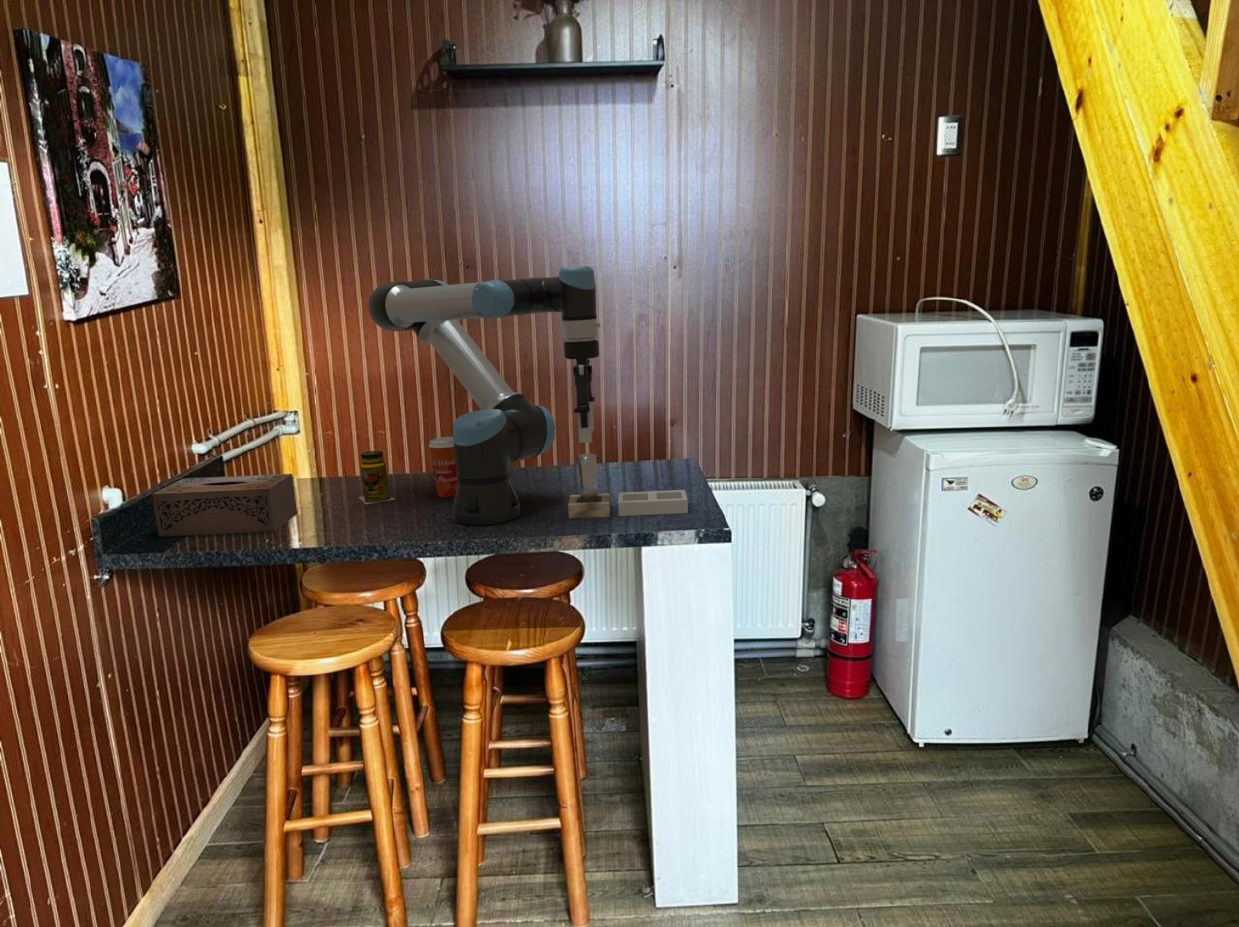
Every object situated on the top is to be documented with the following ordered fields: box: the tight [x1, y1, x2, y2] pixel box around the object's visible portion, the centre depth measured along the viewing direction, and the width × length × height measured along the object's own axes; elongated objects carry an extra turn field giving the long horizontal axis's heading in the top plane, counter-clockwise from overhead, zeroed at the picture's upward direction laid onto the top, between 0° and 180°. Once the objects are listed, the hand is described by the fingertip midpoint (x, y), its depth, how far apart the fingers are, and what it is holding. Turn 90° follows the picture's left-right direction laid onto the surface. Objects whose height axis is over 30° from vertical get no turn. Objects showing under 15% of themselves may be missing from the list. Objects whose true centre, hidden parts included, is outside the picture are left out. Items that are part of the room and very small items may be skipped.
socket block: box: [567, 492, 611, 519], centre depth 203 cm, size 9×9×3 cm
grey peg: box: [577, 453, 599, 503], centre depth 202 cm, size 4×4×13 cm
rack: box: [617, 489, 689, 517], centre depth 203 cm, size 15×9×3 cm, turn 90°
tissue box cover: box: [151, 473, 298, 538], centre depth 206 cm, size 26×14×10 cm, turn 90°
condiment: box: [358, 450, 396, 505], centre depth 223 cm, size 7×8×12 cm
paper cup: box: [428, 436, 458, 498], centre depth 223 cm, size 8×8×14 cm
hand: (586, 436), depth 199 cm, fingers open, 13 cm apart
